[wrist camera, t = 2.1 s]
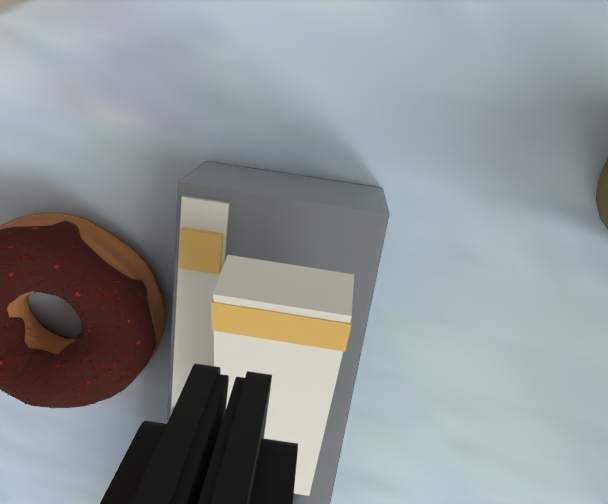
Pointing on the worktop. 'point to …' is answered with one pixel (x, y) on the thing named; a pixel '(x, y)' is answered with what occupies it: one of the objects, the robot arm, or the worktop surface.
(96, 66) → the worktop surface
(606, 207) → the cork
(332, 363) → the block
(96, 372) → the donut
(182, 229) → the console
